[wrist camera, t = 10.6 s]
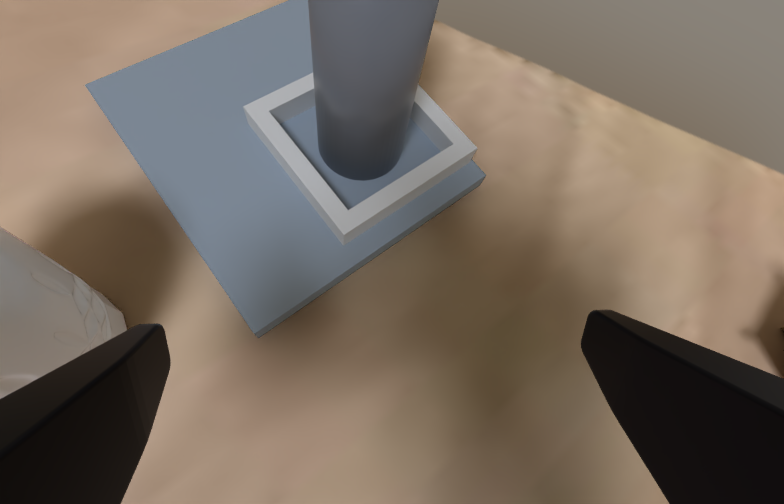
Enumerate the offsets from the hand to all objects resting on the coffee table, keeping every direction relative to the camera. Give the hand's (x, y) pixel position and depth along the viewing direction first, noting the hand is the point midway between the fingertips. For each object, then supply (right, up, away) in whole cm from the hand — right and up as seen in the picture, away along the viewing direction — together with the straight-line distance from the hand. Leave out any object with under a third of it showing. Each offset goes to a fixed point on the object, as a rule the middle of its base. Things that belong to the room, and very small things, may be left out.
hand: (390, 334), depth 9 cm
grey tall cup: (-2, +8, +16) cm, 18 cm away
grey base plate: (-6, +9, +17) cm, 20 cm away
